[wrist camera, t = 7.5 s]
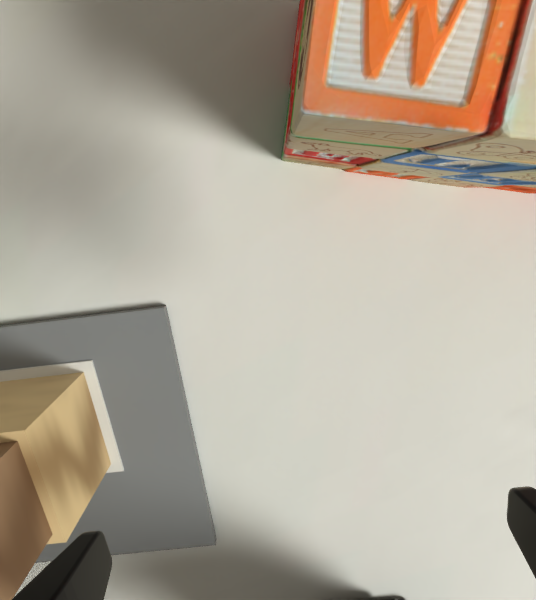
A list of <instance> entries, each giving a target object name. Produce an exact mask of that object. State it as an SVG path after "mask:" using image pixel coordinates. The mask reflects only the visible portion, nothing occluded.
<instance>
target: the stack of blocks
mask: <svg viewBox="0 0 536 600" xmlns="http://www.w3.org/2000/svg"><path fill="white" fill-rule="evenodd" d="M281 160H283V161H287V162H294V163H302V164H309V165H316V166H323V167H331V168H338V169H343V170H345V171H347V172H354V173H361V174H369V175H376V176H384V177H392V178H399V179H408V180H413V181H419V182H426V183H434V184H441V185H449V186H456V187H464V188H472V187H484V188H494V189H500V190H508V191H516V192H523V193H536V0H300V4H299V13H298V21H297V30H296V37H295V46H294V53H293V62H292V71H291V79H290V96H289V103H288V111H287V119H286V126H285V134H284V142H283V150H282V156H281Z"/></svg>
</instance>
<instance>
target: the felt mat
mask: <svg viewBox="0 0 536 600" xmlns="http://www.w3.org/2000/svg"><path fill="white" fill-rule="evenodd" d="M80 372H84V375H85V378H86V382H87V385H88V388H89V392H90V395H91V398H92V402H93V405H94V408H95V412H96V415H97V418H98V422H99V425H100V428H101V432H102V435H103V438H104V442H105V445H106V448H107V452H108V455H109V458H110V462H111V465H110V467H109V468H108V470H107V472H106V474H105V475H104V477H103V479H102V481H101V482H100V484H99V486H98V488H97V489H96V491H95V493H94V495H93V496H92V498H91V500H90V502H89V503H88V505H87V507H86V509H85V510H84V512H83V514H82V516H81V517H80V519H79V521H78V523H77V524H76V526H75V528H74V530H73V531H72V533H71V535H70V537H69V538H68V540H67V542H65V543H55V544H46V546H45V547H44V549H43V551H42V552H41V554H40V555H39V557H38V559H37V560H36V562H35V563H37V562H47V561H53V560H54V559H55V558H56V557H57V556H58V555H59V554H60V553H61V552H62V551H63V550H64V549H65V548H67V547H68V546H69V545H70V544H71V543H72V542H73V541H74V540H75V539H76V538H77V537H78V536H79V535H80V534H82V533H84V532H89V531H98V530H99V531H102V532H103V533H104V536H105V539H106V542H107V545H108V548H109V551H110V554H111V555H119V554H129V553H139V552H149V551H159V550H169V549H180V548H190V547H200V546H210V545H216V535H215V530H214V526H213V521H212V516H211V512H210V507H209V502H208V498H207V493H206V488H205V484H204V479H203V475H202V470H201V465H200V461H199V456H198V451H197V447H196V442H195V438H194V433H193V428H192V424H191V419H190V414H189V410H188V405H187V401H186V396H185V391H184V387H183V382H182V377H181V373H180V368H179V364H178V359H177V354H176V350H175V345H174V340H173V336H172V331H171V327H170V322H169V317H168V313H167V308H166V305H165V306H157V307H149V308H141V309H133V310H124V311H116V312H108V313H100V314H92V315H83V316H75V317H67V318H59V319H51V320H42V321H34V322H26V323H18V324H10V325H1V326H0V382H3V381H11V380H20V379H28V378H37V377H46V376H54V375H63V374H71V373H80Z"/></svg>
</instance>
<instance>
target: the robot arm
mask: <svg viewBox="0 0 536 600" xmlns="http://www.w3.org/2000/svg"><path fill="white" fill-rule="evenodd" d="M507 522H508V525H509V528H510V530H511V532H512V534H513V536H514V538H515V540H516V542H517V544H518V546H519V548H520V549H521V551H522V553H523V555H524V557H525V559H526V561H527V563H528V565H529V567H530V569H531V570H532V572H533V574H534V576H535V578H536V489H534V488H532V487H517V488H512V489H510V491H509V494H508V508H507ZM111 567H112V557H111V554H110V551H109V548H108V545H107V542H106V539H105V536H104V533H103V532H102V531H99V530H98V531H89V532H84V533H82V534H80V535H79V536H78V537H77V538H76V539H75V540H74V541H73V542H72V543H71V544H70V545H69V546H68V547H67V548H65V549H64V550H63V551H62V552H61V553H60V554H59V555H58V556H57V557H56V558H55V559H54V560H53V561H52V562H51V563H50V564H49V565H48V566H47V567H45V568H44V569H43V570H42V571H41V572H40V573H39V574H38V575H37V576H36V577H35V578H34V579H33V580H32V581H31V582H30V583H29V584H28V585H26V586H25V587H24V588H23V589H22V590H21V591H20V592H19V593H18V594H17V595H16V596H15V597H14V598H13V599H12V600H104V596H105V592H106V588H107V584H108V580H109V576H110V572H111Z"/></svg>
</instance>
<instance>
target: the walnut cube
mask: <svg viewBox="0 0 536 600" xmlns="http://www.w3.org/2000/svg"><path fill="white" fill-rule="evenodd" d="M52 535H53V534H52V531H51V528H50V526H49V523H48V520H47V518H46V515H45V513H44V510H43V507H42V505H41V502H40V499H39V497H38V494H37V491H36V489H35V486H34V483H33V481H32V478H31V475H30V473H29V470H28V467H27V465H26V462H25V459H24V457H23V454H22V451H21V449H20V446H19V443H18V441H13V442H4V443H0V600H12V599H13V597H14V596H15V594H16V592H17V591H18V589H19V588H20V586H21V584H22V583H23V581H24V579H25V578H26V576H27V575H28V573H29V571H30V570H31V568H32V567H33V565H34V563H35V562H36V560H37V559H38V557H39V555H40V554H41V552H42V551H43V549H44V547H45V546H46V544H47V543H48V541H49V539H50V538H51V536H52Z"/></svg>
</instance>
